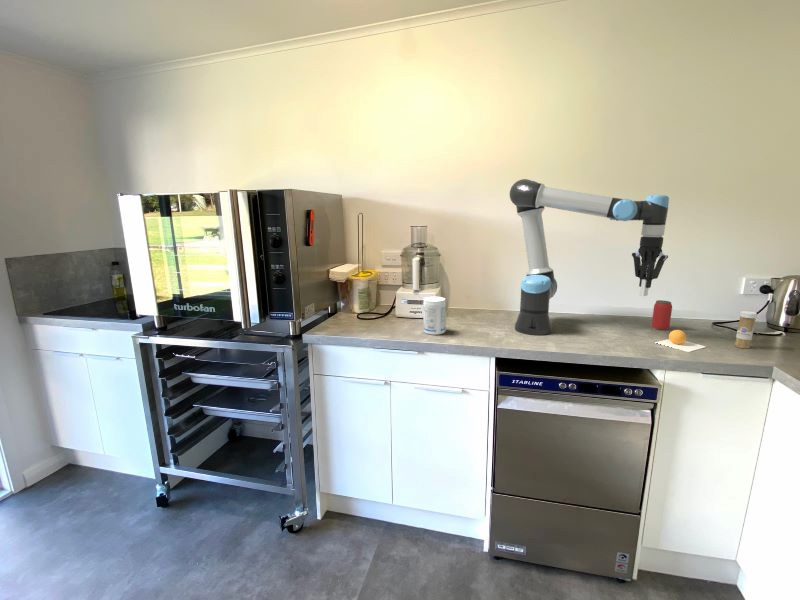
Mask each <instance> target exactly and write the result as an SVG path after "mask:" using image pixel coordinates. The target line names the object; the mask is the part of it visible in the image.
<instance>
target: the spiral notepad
mask: <svg viewBox="0 0 800 600" xmlns="http://www.w3.org/2000/svg"><path fill="white" fill-rule="evenodd" d="M656 343H658V344H657V345H660V344H661V345H660V346H664V345H665V347H667V346H669V347H668V348H671V347H672V348H671V349H675V350H678V349H679V351H683V352H686V353H691V352H694V351H697V350H698V351H699V350H701V349H704V348H707V346H706V345H702V344H698V343H697V344H696V343H693V342H690V341H685V342H684V343H682V344H674V343H672V342H671V341H670V340H669V338H668V339H667V338H666V339H663V340H659V341H655V342H654V344H656Z"/></svg>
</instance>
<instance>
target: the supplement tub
mask: <svg viewBox="0 0 800 600" xmlns="http://www.w3.org/2000/svg"><path fill="white" fill-rule="evenodd" d="M422 306H423V307H422V308H423V310H422V315H423V319H422V320H423V332H424V333H425V334H426V335H433V336H434V335H436V336H437V335H442V334H445V332H446V329H447V327H446V324H447V321H446V320H447V314H446V313H447V301H446V298H445V297H442V296H427V297H423V305H422Z"/></svg>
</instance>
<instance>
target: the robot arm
mask: <svg viewBox="0 0 800 600" xmlns="http://www.w3.org/2000/svg"><path fill="white" fill-rule="evenodd" d="M509 199H510V201H511V203H512V204H513V205H514V206H516V207H515V208H516V212H517V215H518V216H519V217H520V218H521V224H522V228H523V229H522V230H523V237H524V242H525V250H526V257H527V258H526V259H527V264H528V270H527V272H526V276H524V277H523V278H522V279H521V284H520V301H519V302H520V303H519V304H520V306H519V313H518V315H517V319H516V321H515V323H514V330H515V331H516V332H518V333H521V334H525V335H530V336H531V335H533V336H541V335H543V336H544V335H550V334H551V333H552V330H553V329H552V328H553V327H552V324H551V320H550V314H549V310H550V300H551V299H552V298H553V297H554V296H555V294H556V292H557V291H558V290H557V289H558V281H557V280H556V278H555V274H554V273H555V272H554V269H553V268H551V266H550V264H549V258H548V257H549V256H548V251H547V242H546V236H545V229H544V222H543V221H544V220H543V215H542V214H543V212H544V210H545V207H546V208H551V209H557V210H562V211H569V212H573V213H580V214H585V215H590V216H597V217H603V218H608V219H609V220H610V221H621V222H628V221H642V225H641V232H640V235H641V237H640V239H639V248H638V249H637V251H636V252H632V253H631V257H632V258H633V264H634V265H633V266H634V267H633V268H634V275H635V277H636V278H638V279H639V284H638V287H640V291H639V296H641V297H646V296H648V295H649V294H648V293H649V289H650V288H651V287H652V281H653V280H657V279H658V278H659V276H660V273H661V271H662V268H663V265H664V264H665V261H666V260H667V259H668V258H669V255H668V254H667V255H666V254H665V253H664V252H663V249H662V247H663V245H664V237H663V236H664V235H665V230H666V223H667V218H668V212H669V205H670V204H669V203H670V197H669V196H668V195H666V194H665V195H664V194H658V195H657V194H655V195H654V194H653V195H648V196H646V198H645V200H632V199H629V198H620V197H619V198H617V197H613V196H612V197H611V196H606V195H599V194H593V193H587V192H582V191H581V192H580V191H574V190H568V189H567V190H566V189H562V188H557V187H550V186H549V187H548V186H546V185H545V184H544V183H541V182H538V181H535V180H531V179H527V178H522V179H519V180H517V181H515V182H514V183H513V184H512V186H511V187H510V189H509ZM657 259H658V260H657Z"/></svg>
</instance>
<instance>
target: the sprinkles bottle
mask: <svg viewBox="0 0 800 600" xmlns="http://www.w3.org/2000/svg"><path fill="white" fill-rule="evenodd" d="M739 313H740V314H739V322H738V325H737V326H738V327H737V331H736V337H735V343H734V346H735V347H736V348H740V349H750V348H751V344H752V340H753V334H754V329H755V324H756V318H757V316H758V313H757V312H755V311H751V310H740V312H739Z"/></svg>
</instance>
